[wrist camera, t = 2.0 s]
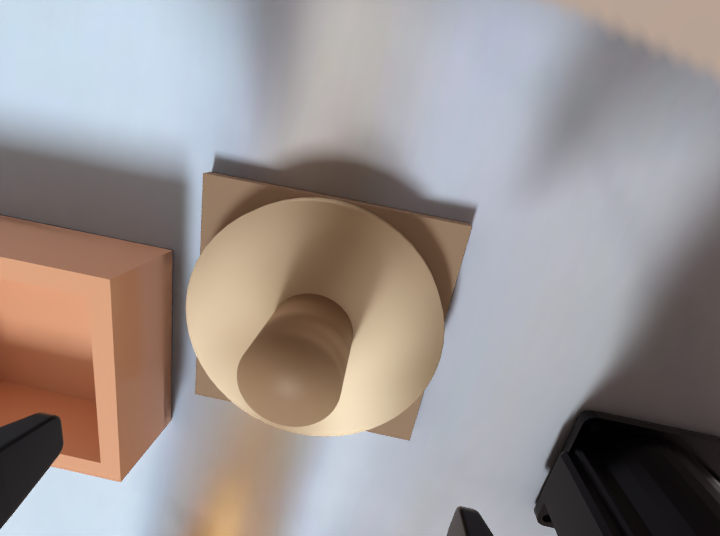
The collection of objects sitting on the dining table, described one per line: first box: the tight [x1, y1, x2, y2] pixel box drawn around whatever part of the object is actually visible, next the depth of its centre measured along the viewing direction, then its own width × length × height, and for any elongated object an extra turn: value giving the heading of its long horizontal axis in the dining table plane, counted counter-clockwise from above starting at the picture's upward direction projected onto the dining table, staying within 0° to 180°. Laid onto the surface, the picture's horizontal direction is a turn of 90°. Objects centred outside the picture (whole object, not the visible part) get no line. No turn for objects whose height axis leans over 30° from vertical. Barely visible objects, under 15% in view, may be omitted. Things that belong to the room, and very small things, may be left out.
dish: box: [0, 215, 173, 482], centre depth 15 cm, size 9×9×4 cm
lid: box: [186, 197, 444, 436], centre depth 13 cm, size 10×10×4 cm
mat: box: [195, 172, 472, 441], centre depth 15 cm, size 10×10×1 cm
